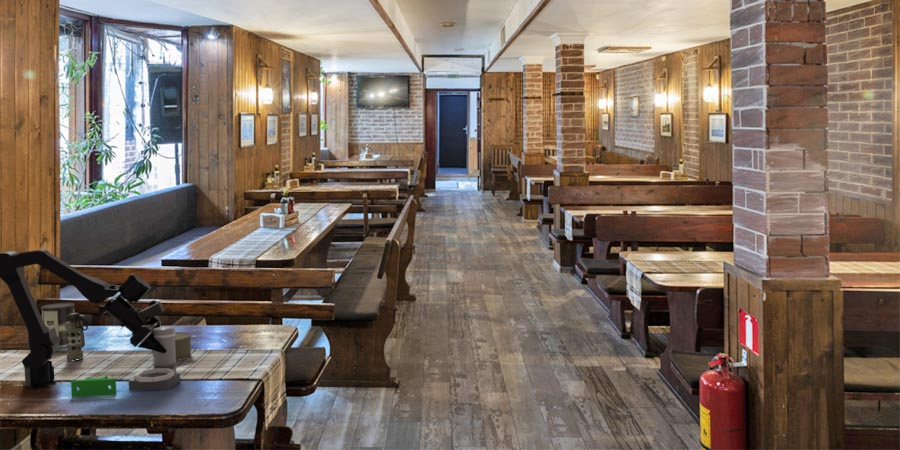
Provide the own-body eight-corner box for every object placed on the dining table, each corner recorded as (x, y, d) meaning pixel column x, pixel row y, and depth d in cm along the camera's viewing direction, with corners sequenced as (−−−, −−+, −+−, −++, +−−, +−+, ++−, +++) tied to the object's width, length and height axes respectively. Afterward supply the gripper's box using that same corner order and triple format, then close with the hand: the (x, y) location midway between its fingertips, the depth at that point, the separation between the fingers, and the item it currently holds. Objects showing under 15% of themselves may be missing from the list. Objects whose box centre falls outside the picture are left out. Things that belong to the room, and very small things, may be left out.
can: (199, 353, 241) (198, 333, 240) (176, 363, 229) (175, 341, 229) (168, 351, 244) (167, 331, 243) (144, 360, 232) (143, 339, 232)
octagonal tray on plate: (127, 390, 200) (126, 378, 200) (144, 380, 210) (144, 368, 210) (165, 390, 200) (165, 378, 199) (181, 380, 210) (181, 368, 209)
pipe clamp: (119, 391, 200) (119, 375, 200) (115, 395, 197) (114, 379, 196) (76, 393, 199) (76, 376, 199) (71, 397, 195) (70, 380, 195)
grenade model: (82, 361, 232) (79, 315, 230) (63, 360, 233) (60, 314, 232) (95, 356, 238) (93, 311, 237) (77, 355, 239) (75, 310, 238)
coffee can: (78, 340, 262) (76, 301, 261) (74, 346, 252) (72, 306, 251) (45, 342, 258) (43, 303, 257) (41, 349, 248) (38, 309, 247)
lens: (162, 379, 211) (160, 332, 210) (149, 376, 214) (147, 329, 213) (181, 374, 216) (179, 327, 215) (168, 371, 220) (166, 325, 219)
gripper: (140, 299, 203) (183, 334, 207) (150, 288, 221) (190, 321, 225) (111, 328, 202) (155, 364, 205) (124, 315, 220) (164, 348, 224)
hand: (167, 348), depth 215 cm, fingers open, 9 cm apart
